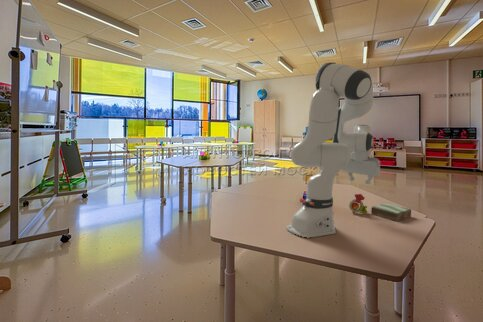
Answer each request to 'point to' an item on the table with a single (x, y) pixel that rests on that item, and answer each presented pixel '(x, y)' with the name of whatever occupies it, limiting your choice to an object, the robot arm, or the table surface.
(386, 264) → the table surface
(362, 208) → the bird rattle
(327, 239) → the table surface
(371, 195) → the table surface
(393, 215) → the sage green square tile
